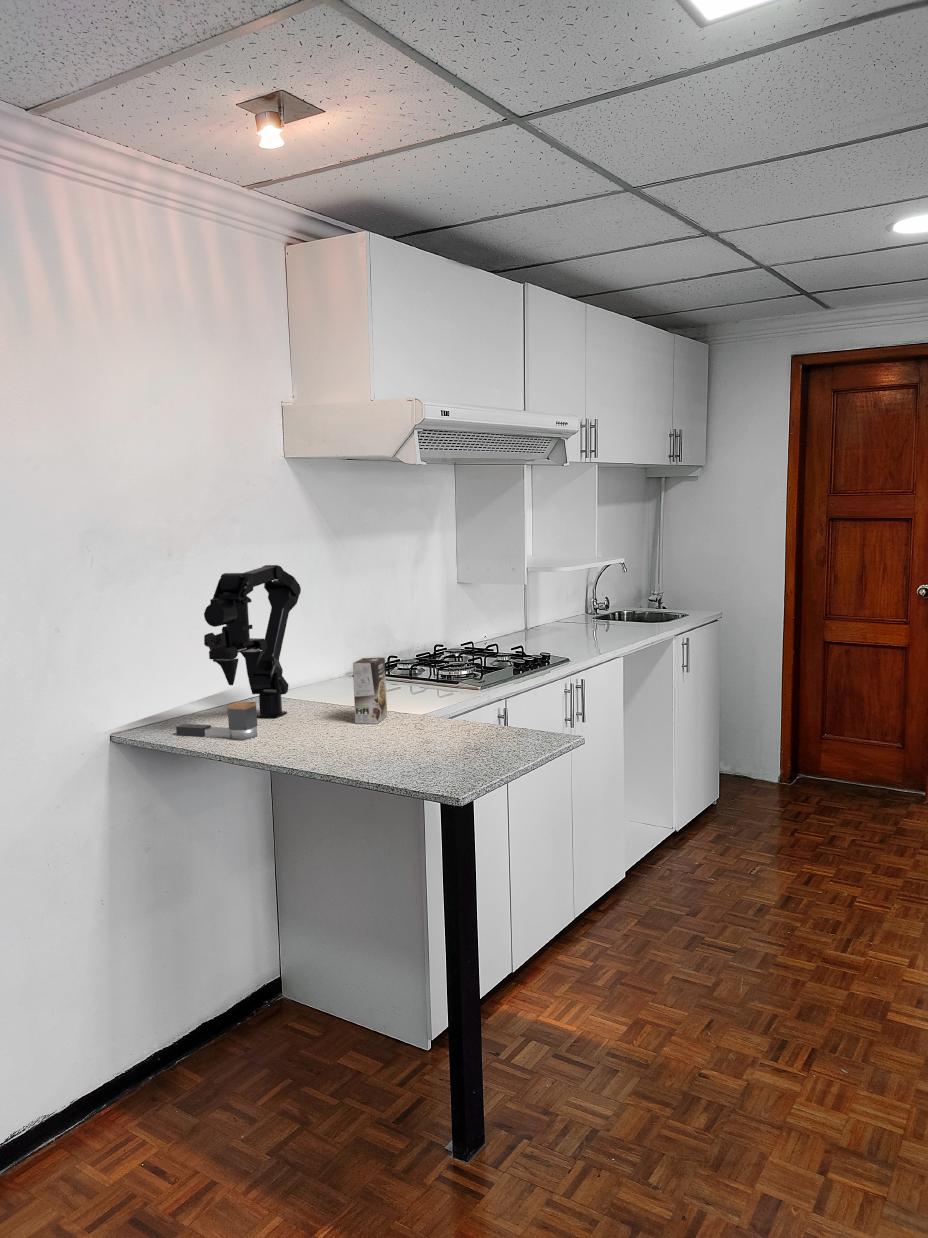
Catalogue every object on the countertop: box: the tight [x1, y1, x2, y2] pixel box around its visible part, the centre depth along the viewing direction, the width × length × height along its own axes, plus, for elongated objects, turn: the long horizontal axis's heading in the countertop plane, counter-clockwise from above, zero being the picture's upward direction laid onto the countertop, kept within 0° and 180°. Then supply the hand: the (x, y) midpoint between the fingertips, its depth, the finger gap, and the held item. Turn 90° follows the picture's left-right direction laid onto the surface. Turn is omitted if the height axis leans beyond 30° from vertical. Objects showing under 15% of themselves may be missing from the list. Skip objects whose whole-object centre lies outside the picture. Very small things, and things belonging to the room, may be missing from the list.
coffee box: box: [352, 657, 388, 725], centre depth 243 cm, size 9×6×16 cm
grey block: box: [227, 700, 258, 730], centre depth 229 cm, size 5×5×6 cm
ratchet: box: [175, 723, 258, 741], centre depth 232 cm, size 6×22×5 cm, turn 71°
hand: (240, 681), depth 239 cm, fingers open, 9 cm apart
